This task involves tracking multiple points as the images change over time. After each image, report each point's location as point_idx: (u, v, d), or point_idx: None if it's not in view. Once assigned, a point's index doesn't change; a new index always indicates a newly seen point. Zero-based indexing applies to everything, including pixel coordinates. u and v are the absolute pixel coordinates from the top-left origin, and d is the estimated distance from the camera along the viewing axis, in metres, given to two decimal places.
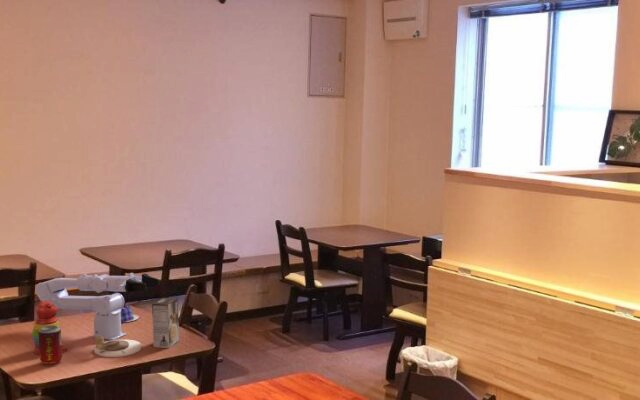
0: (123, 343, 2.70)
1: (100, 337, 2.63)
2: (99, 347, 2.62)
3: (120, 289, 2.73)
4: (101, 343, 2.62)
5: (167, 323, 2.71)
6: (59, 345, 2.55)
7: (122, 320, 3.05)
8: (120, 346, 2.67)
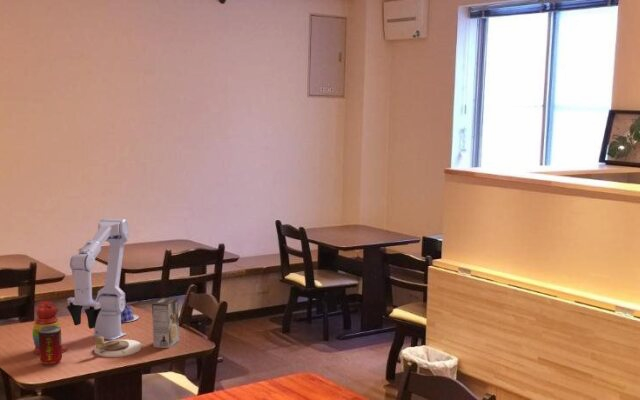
0: (123, 343, 2.70)
1: (100, 337, 2.63)
2: (99, 347, 2.62)
3: None
4: (101, 343, 2.62)
5: (167, 323, 2.71)
6: (59, 345, 2.55)
7: (122, 320, 3.05)
8: (120, 346, 2.67)
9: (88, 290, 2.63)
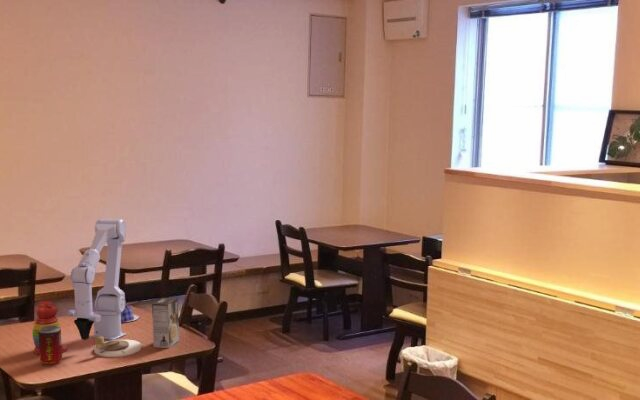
0: (123, 343, 2.70)
1: (100, 337, 2.63)
2: (99, 347, 2.62)
3: None
4: (101, 343, 2.62)
5: (167, 323, 2.71)
6: (59, 345, 2.55)
7: (122, 320, 3.05)
8: (120, 346, 2.67)
9: (88, 303, 2.64)
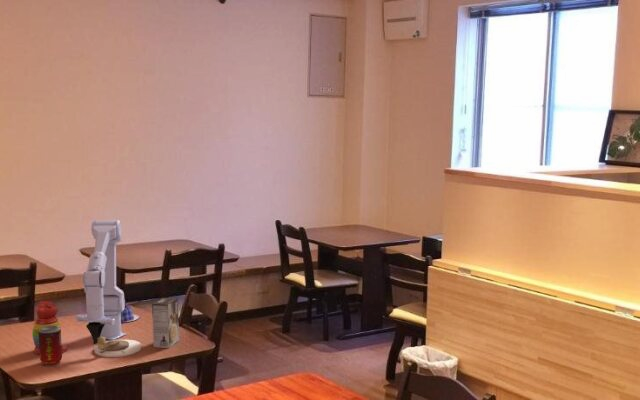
0: (123, 343, 2.70)
1: (102, 337, 2.63)
2: (101, 347, 2.62)
3: None
4: (103, 343, 2.62)
5: (167, 323, 2.71)
6: (59, 345, 2.55)
7: (122, 320, 3.05)
8: (121, 346, 2.67)
9: (101, 306, 2.61)
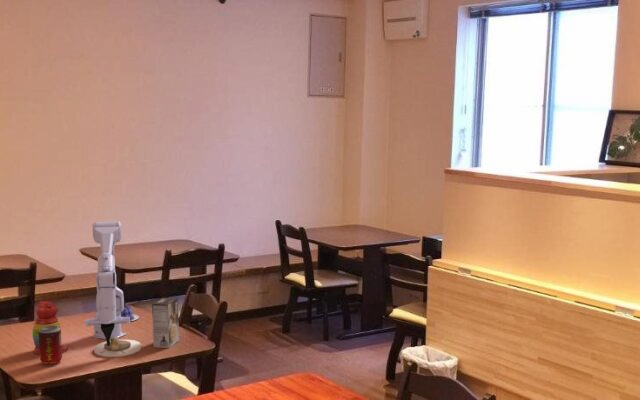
0: (123, 342, 2.72)
1: (115, 338, 2.62)
2: (117, 348, 2.61)
3: None
4: (118, 343, 2.62)
5: (167, 323, 2.71)
6: (59, 345, 2.55)
7: None
8: (126, 344, 2.69)
9: (115, 307, 2.61)
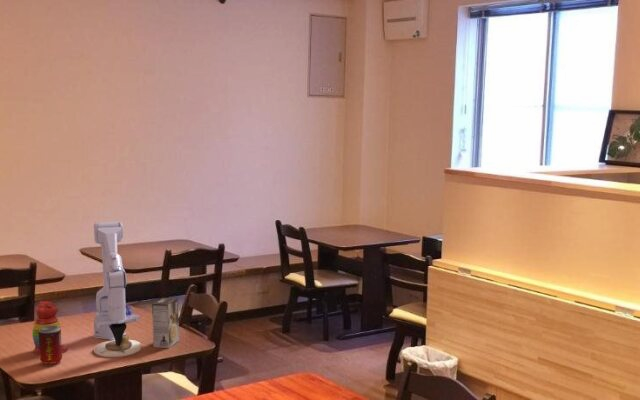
0: None
1: (125, 337, 2.63)
2: (128, 346, 2.63)
3: (95, 323, 2.57)
4: (128, 342, 2.64)
5: (167, 323, 2.71)
6: (59, 345, 2.55)
7: None
8: (128, 343, 2.71)
9: None
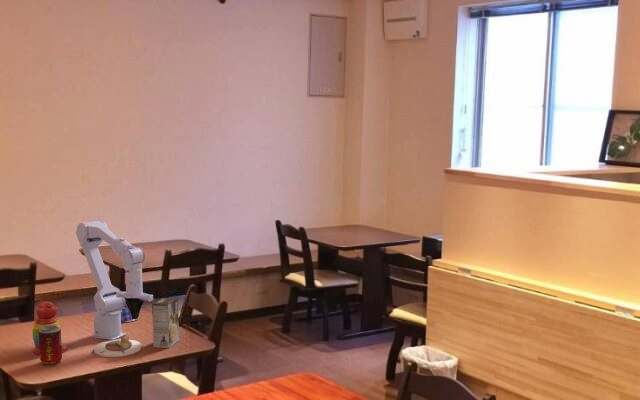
0: None
1: (125, 337, 2.63)
2: (128, 346, 2.63)
3: None
4: (128, 342, 2.64)
5: (167, 323, 2.71)
6: (59, 345, 2.55)
7: (123, 320, 3.05)
8: (128, 343, 2.71)
9: (140, 283, 2.73)
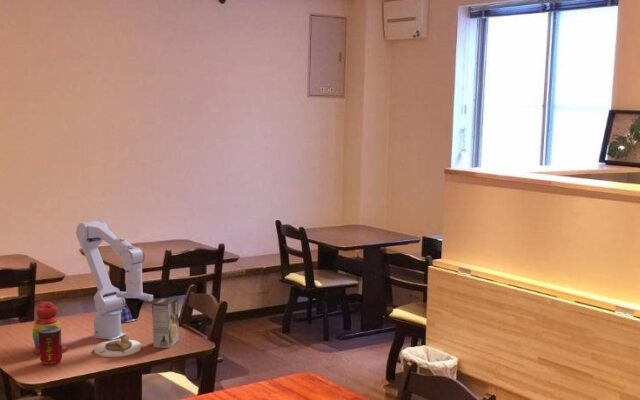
0: None
1: (125, 337, 2.63)
2: (128, 346, 2.63)
3: None
4: (128, 342, 2.64)
5: (167, 323, 2.71)
6: (59, 345, 2.55)
7: (123, 320, 3.05)
8: (128, 343, 2.71)
9: (140, 283, 2.73)
